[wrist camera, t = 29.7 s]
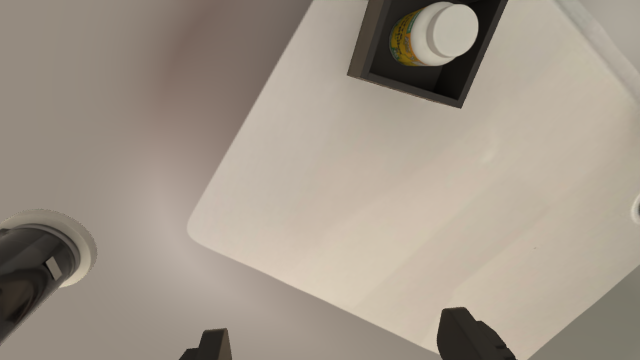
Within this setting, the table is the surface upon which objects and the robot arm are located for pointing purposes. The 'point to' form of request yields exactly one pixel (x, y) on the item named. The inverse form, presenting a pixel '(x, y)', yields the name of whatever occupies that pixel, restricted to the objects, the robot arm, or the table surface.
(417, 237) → the table surface
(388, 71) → the basket
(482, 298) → the table surface
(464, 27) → the supplement bottle
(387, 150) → the table surface
